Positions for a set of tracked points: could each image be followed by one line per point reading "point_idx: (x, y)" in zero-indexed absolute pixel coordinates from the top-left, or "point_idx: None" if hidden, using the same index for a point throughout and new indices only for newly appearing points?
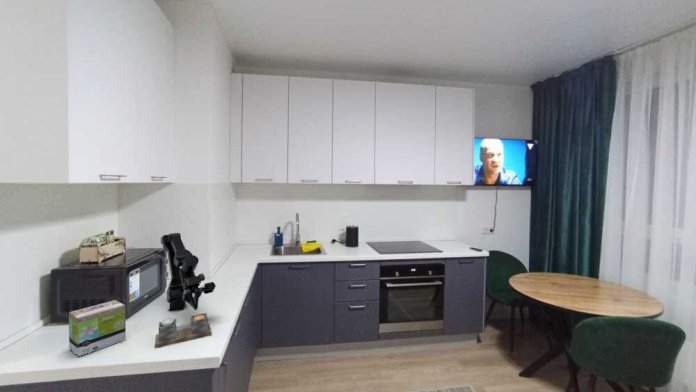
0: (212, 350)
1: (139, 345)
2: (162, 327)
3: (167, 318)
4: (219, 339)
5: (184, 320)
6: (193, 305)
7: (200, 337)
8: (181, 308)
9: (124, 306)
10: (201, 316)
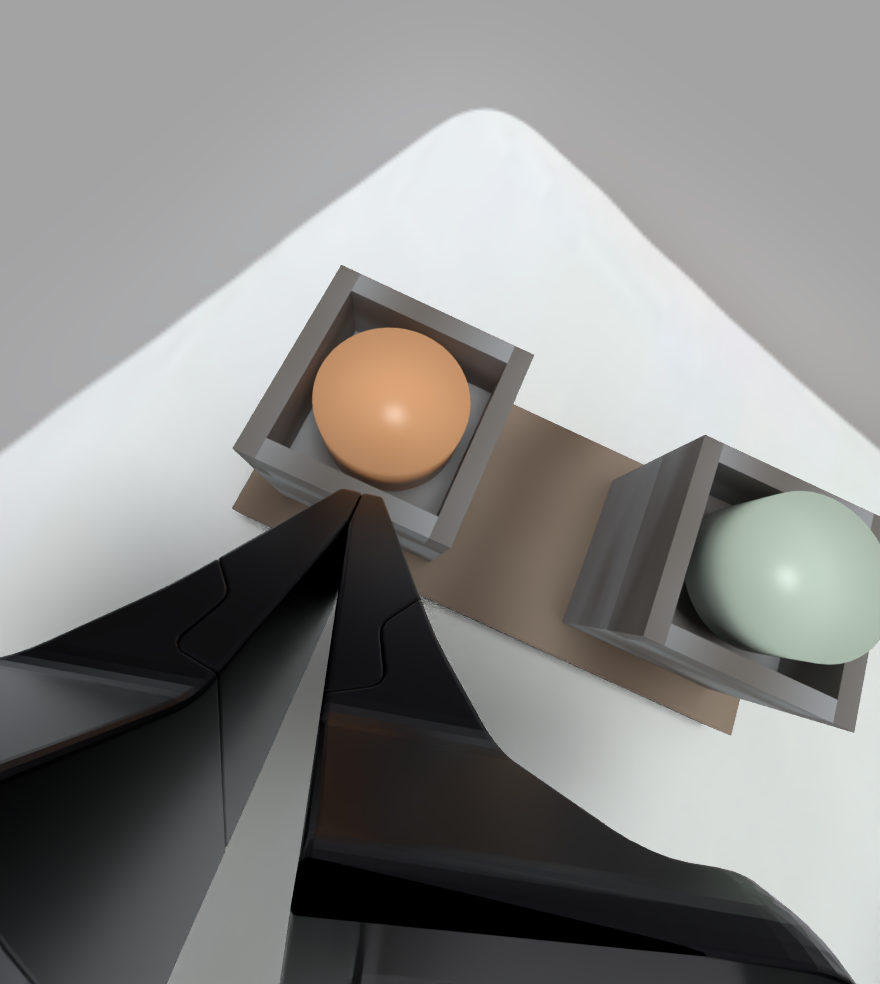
0: (472, 152)
1: None
2: (851, 507)
3: (800, 654)
4: (345, 230)
5: None
6: (397, 547)
7: None
8: None
9: None
10: (358, 390)
